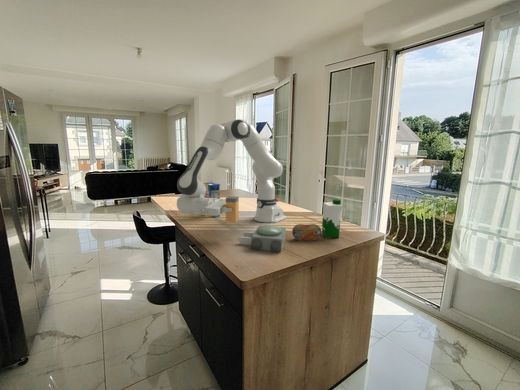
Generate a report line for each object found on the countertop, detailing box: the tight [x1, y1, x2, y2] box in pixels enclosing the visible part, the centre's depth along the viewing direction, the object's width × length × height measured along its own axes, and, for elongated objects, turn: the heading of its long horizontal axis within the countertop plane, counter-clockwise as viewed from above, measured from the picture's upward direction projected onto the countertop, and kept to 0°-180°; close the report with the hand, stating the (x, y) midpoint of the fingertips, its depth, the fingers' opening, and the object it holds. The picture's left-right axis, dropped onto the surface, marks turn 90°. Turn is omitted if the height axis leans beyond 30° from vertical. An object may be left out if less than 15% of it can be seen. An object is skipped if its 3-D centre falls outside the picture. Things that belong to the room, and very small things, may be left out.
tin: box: [291, 223, 322, 242], centre depth 135 cm, size 15×3×8 cm, turn 95°
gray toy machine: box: [238, 224, 287, 253], centre depth 129 cm, size 21×20×8 cm
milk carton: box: [321, 198, 343, 238], centre depth 141 cm, size 9×9×20 cm
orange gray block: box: [225, 195, 240, 223], centre depth 130 cm, size 5×5×12 cm
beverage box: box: [203, 181, 221, 219], centre depth 175 cm, size 7×11×22 cm, turn 41°
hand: (234, 208), depth 130 cm, fingers closed on orange gray block, 5 cm apart
